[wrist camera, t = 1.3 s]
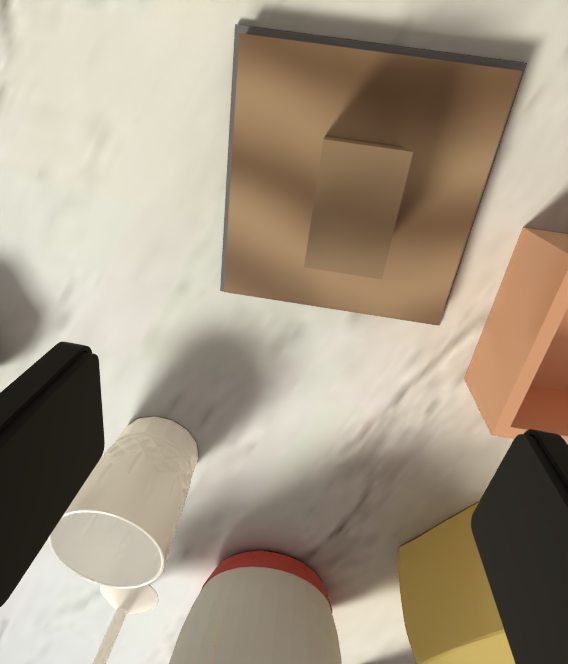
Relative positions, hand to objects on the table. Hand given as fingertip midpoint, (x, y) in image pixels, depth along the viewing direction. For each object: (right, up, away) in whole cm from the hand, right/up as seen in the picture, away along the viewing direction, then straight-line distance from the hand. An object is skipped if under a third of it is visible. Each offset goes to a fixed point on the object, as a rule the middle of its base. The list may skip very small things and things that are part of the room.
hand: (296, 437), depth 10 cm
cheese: (+17, -17, +29) cm, 38 cm away
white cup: (-11, -7, +27) cm, 30 cm away
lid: (+4, +11, +16) cm, 19 cm away
